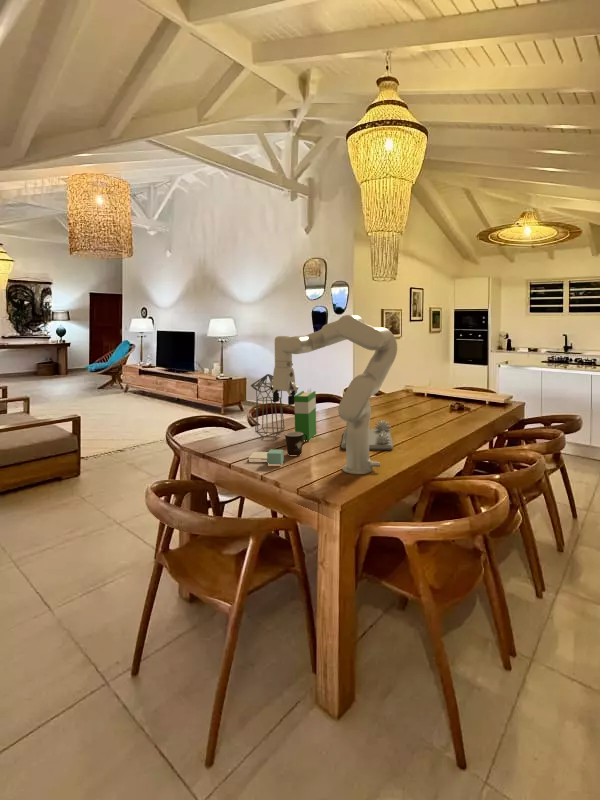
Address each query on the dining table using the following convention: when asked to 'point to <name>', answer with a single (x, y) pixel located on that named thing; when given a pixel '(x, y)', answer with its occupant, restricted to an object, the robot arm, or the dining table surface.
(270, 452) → the block
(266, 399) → the geometric lantern
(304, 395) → the hardback book
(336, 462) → the dining table surface
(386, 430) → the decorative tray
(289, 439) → the coffee mug
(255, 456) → the coaster
